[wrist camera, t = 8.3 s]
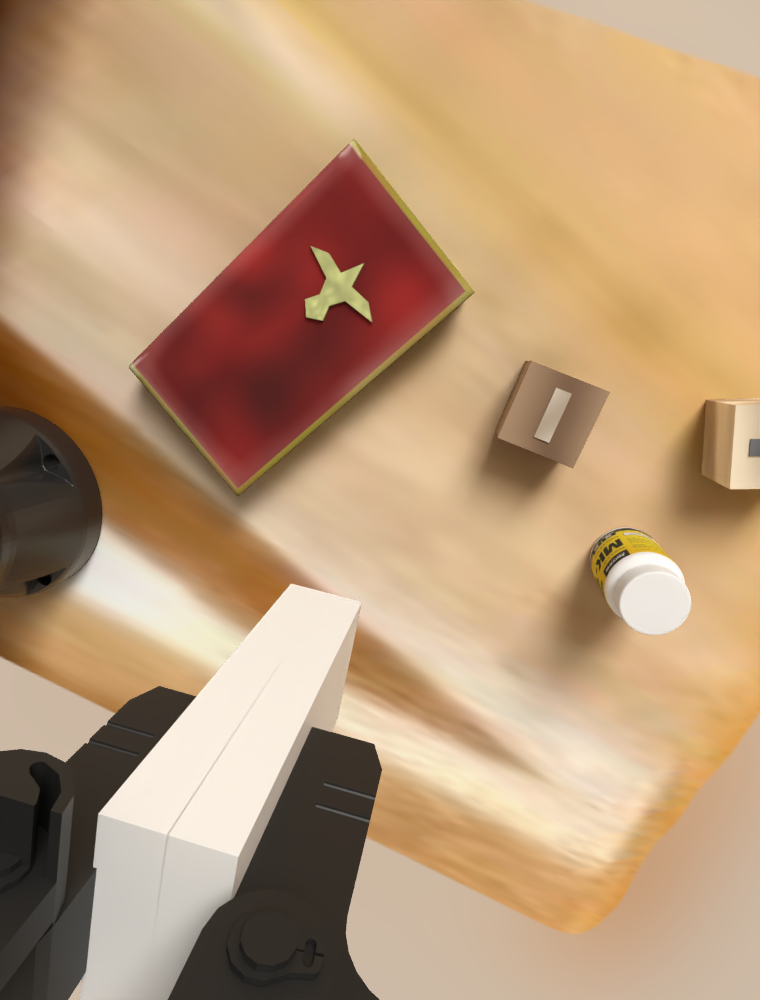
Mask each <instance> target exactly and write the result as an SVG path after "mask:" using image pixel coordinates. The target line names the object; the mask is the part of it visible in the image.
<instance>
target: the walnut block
mask: <svg viewBox="0 0 760 1000" xmlns="http://www.w3.org/2000/svg"><path fill="white" fill-rule="evenodd" d="M609 393H610V392H608V391H606V390H603V389H601V388H598V387H596V386H593V385H591V384H588V383H586V382H583V381H581V380H578V379H576V378H573V377H570V376H568V375H565V374H563V373H560V372H558V371H555V370H553V369H550V368H548V367H545V366H543V365H540V364H538V363H535V362H533V361H525V363H524V366H523V368H522V370H521V373H520V375H519V377H518V379H517V382H516V384H515V386H514V389H513V391H512V393H511V395H510V398H509V400H508V402H507V405H506V407H505V409H504V411H503V414H502V416H501V418H500V420H499V423H498V425H497V427H496V433H497V437H498V438H499V439H502V440H504V441H507V442H509V443H512V444H514V445H517V446H519V447H522V448H524V449H526V450H529V451H531V452H534V453H536V454H539V455H541V456H544V457H546V458H549V459H551V460H554V461H556V462H559V463H561V464H563V465H566V466H568V467H571V468H573V467H574V465H575V463H576V461H577V459H578V457H579V455H580V453H581V451H582V449H583V447H584V445H585V443H586V441H587V438H588V436H589V434H590V432H591V430H592V428H593V426H594V424H595V422H596V420H597V418H598V416H599V414H600V412H601V410H602V407H603V405H604V403H605V401H606V399H607V397H608V395H609Z"/></svg>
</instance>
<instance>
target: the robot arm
mask: <svg viewBox="0 0 760 1000" xmlns="http://www.w3.org/2000/svg"><path fill="white" fill-rule="evenodd" d="M101 522H102V506H101V498H100V493H99V488H98V485H97V481H96V479H95V476H94V473H93V471H92V469H91V467H90V465H89V463H88V461H87V460H86V458H85V456H84V455H83V453H82V452H81V450H80V449H79V448H78V446H77V445H76V444H75V443H74V442H73V441H72V439H71V438H70V437H69V436H68V435H67V434H66V433H65V432H63V431H62V430H61V429H60V428H59V427H57V426H56V425H55V424H53V423H52V422H50V421H48V420H47V419H45V418H43V417H41V416H39V415H37V414H35V413H32V412H29V411H26V410H23V409H19V408H13V407H0V598H9V597H19V596H27V595H31V594H36V593H39V592H42V591H44V590H47V589H49V588H51V587H53V586H55V585H57V584H58V583H60V582H62V581H64V580H66V579H68V578H69V577H71V576H72V575H74V574H75V573H76V572H77V571H79V570H80V569H81V568H82V567H83V565H84V564H85V563H86V562H87V560H88V559H89V558H90V556H91V554H92V553H93V551H94V548H95V546H96V544H97V541H98V538H99V534H100V529H101ZM361 604H362V602H360V601H357V600H353V599H349V598H345V597H341V596H337V595H333V594H329V593H325V592H321V591H318V590H314V589H310V588H306V587H302V586H298V585H294V584H290V586H289V587H288V588H287V589H286V590H285V592H284V593H283V594H282V595H281V596H280V598H279V599H278V600H277V601H276V602H275V604H274V605H273V606H272V607H271V608H270V609H269V611H268V612H267V613H266V614H265V615H264V617H263V618H262V619H261V620H260V621H259V623H258V624H257V625H256V626H255V627H254V629H253V630H252V631H251V632H250V633H249V635H248V636H247V637H246V638H245V639H244V640H243V642H242V643H241V644H240V645H239V646H238V648H237V649H236V650H235V651H234V652H233V654H232V655H231V656H230V657H229V658H228V660H227V661H226V662H225V663H224V664H223V666H222V667H221V668H220V669H219V670H218V672H217V673H216V674H215V675H214V676H213V677H212V679H211V680H210V681H209V682H208V683H207V685H206V686H205V687H204V688H203V689H202V691H201V692H200V693H199V694H198V695H197V697H196V696H193V695H189V694H185V693H182V692H178V691H175V690H171V689H168V688H164V687H161V686H159V687H157V688H154V689H152V690H150V691H148V692H146V693H144V694H142V695H139V696H137V697H135V698H133V699H131V700H129V701H128V702H127V703H126V704H125V705H124V706H123V707H122V708H121V709H120V710H119V711H118V712H117V713H116V714H115V715H114V716H113V717H112V718H111V719H110V720H109V721H108V723H107V725H106V726H105V725H104V726H103V727H101V728H100V729H99V730H98V731H97V732H96V733H95V734H94V735H93V736H92V737H91V738H90V741H89V743H88V744H86V743H85V744H84V745H83V746H82V747H81V748H80V749H79V750H78V751H77V752H76V753H75V754H74V755H73V756H72V757H71V758H70V759H69V760H68V761H67V762H66V763H65V762H63V761H61V760H59V759H57V758H55V757H53V756H51V755H49V754H47V753H44V752H37V751H30V750H23V749H18V750H9V751H0V1000H68V999H69V997H70V996H71V994H72V993H73V991H74V990H75V988H76V986H77V985H78V983H79V982H80V980H81V979H82V980H81V990H80V1000H379V999H378V998H377V997H376V996H375V995H374V994H373V993H372V992H371V991H370V990H369V989H368V988H367V986H366V985H365V983H364V982H363V980H362V979H361V977H360V976H359V975H358V973H357V972H356V969H355V967H354V965H353V962H352V960H351V957H350V955H349V952H348V945H347V940H346V923H347V915H348V910H349V906H350V902H351V898H352V894H353V889H354V885H355V881H356V877H357V873H358V868H359V864H360V860H361V856H362V852H363V847H364V843H365V839H366V835H367V831H368V826H369V822H370V818H371V814H372V810H373V805H374V801H375V797H376V793H377V789H378V784H379V780H380V776H381V772H382V768H381V765H380V762H379V759H378V755H377V752H376V749H375V746H374V744H372V743H368V742H365V741H361V740H358V739H354V738H351V737H347V736H344V735H340V734H336V733H333V732H332V731H333V728H334V726H335V723H336V720H337V718H338V713H339V708H340V704H341V699H342V694H343V689H344V685H345V680H346V675H347V670H348V666H349V661H350V656H351V651H352V647H353V642H354V637H355V632H356V628H357V623H358V618H359V613H360V609H361Z"/></svg>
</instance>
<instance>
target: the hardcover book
mask: <svg viewBox="0 0 760 1000" xmlns="http://www.w3.org/2000/svg"><path fill="white" fill-rule="evenodd" d="M473 293H474V291H473V290H472V288H471V287H470V286H469V284H468V283H467V282H466V281H465V279H464V278H463V277H462V276H461V274H460V273H459V272H458V270H457V269H456V268H455V267H454V265H453V264H452V263H451V262H450V260H449V259H448V258H447V256H446V255H445V254H444V253H443V251H442V250H441V249H440V248H439V246H438V245H437V244H436V242H435V241H434V240H433V239H432V237H431V236H430V235H429V233H428V232H427V231H426V230H425V228H424V227H423V226H422V225H421V223H420V222H419V221H418V219H417V218H416V217H415V216H414V214H413V213H412V212H411V211H410V209H409V208H408V207H407V205H406V204H405V203H404V202H403V200H402V199H401V198H400V197H399V195H398V194H397V193H396V191H395V190H394V189H393V188H392V186H391V185H390V184H389V183H388V181H387V180H386V179H385V177H384V176H383V175H382V174H381V172H380V171H379V170H378V168H377V167H376V166H375V165H374V163H373V162H372V161H371V160H370V158H369V157H368V156H367V154H366V153H365V152H364V151H363V149H362V148H361V147H360V146H359V144H358V143H357V142H356V140H355V139H353V140H352V141H351V142H350V143H349V144H348V145H347V146H346V147H345V148H344V149H343V150H342V151H341V152H340V153H339V154H338V155H337V156H336V157H335V158H334V159H333V160H332V161H331V162H330V163H329V164H328V165H327V166H326V167H325V168H324V169H323V170H322V171H321V172H320V173H319V174H318V176H317V177H316V178H315V179H314V180H313V181H312V182H311V183H310V184H309V185H308V186H307V187H306V188H305V189H304V190H303V191H302V192H301V193H300V194H299V195H298V196H297V197H296V198H295V199H294V200H293V201H292V202H291V203H290V204H289V205H288V206H287V207H286V208H285V209H284V210H283V211H282V212H281V213H280V214H279V215H278V216H277V217H276V218H275V219H274V220H273V221H272V222H271V223H270V224H269V225H268V226H267V227H266V228H265V229H264V230H263V231H262V232H261V233H260V234H259V235H258V236H257V237H256V238H255V239H254V240H253V241H252V242H251V243H250V244H249V245H248V246H247V247H246V248H245V249H244V250H243V251H242V252H241V253H240V254H239V255H238V256H237V257H236V258H235V259H234V260H233V261H232V262H231V263H230V264H229V265H228V266H227V267H226V268H225V269H224V270H223V271H222V272H221V273H220V274H219V275H218V276H217V277H216V278H215V279H214V281H213V282H212V283H211V284H210V285H209V286H208V287H207V288H206V289H205V290H204V291H203V292H202V293H201V294H200V295H199V296H198V297H197V298H196V299H195V300H194V301H193V302H192V303H191V304H190V305H189V306H188V307H187V308H186V309H185V310H184V311H183V312H182V313H181V314H180V315H179V316H178V317H177V318H176V319H175V320H174V321H173V322H172V323H171V324H170V325H169V326H168V327H167V328H166V329H165V330H164V331H163V332H162V333H161V334H160V335H159V336H158V337H157V338H156V339H155V340H154V341H153V342H152V343H151V344H150V345H149V346H148V347H147V348H146V349H145V350H144V351H143V352H142V353H141V354H140V355H139V356H138V357H137V358H136V359H135V360H134V361H133V362H132V363H131V364H130V366H129V368H130V370H131V371H132V372H133V373H134V374H135V375H136V377H137V378H138V379H139V380H140V381H141V383H142V384H143V385H144V386H145V387H146V388H147V390H148V391H149V392H150V393H151V394H152V396H153V397H154V398H155V399H156V400H157V401H158V403H159V404H160V405H161V406H162V407H163V409H164V410H165V411H166V412H167V413H168V415H169V416H170V417H171V418H172V419H173V420H174V422H175V423H176V424H177V425H178V426H179V428H180V429H181V430H182V431H183V432H184V433H185V435H186V436H187V437H188V438H189V439H190V441H191V442H192V443H193V444H194V445H195V446H196V448H197V449H198V450H199V451H200V452H201V454H202V455H203V456H204V457H205V458H206V459H207V461H208V462H209V463H210V464H211V465H212V467H213V468H214V469H215V470H216V471H217V472H218V474H219V475H220V476H221V477H222V478H223V480H224V481H225V482H226V483H227V484H228V485H229V487H230V488H231V489H232V490H233V491H234V493H235V494H236V495H237V496H239V495H240V494H241V493H243V492H244V491H245V490H246V489H247V488H248V487H250V486H251V485H252V484H253V483H254V482H255V481H257V480H258V479H259V478H260V477H261V476H262V475H263V474H265V473H266V472H267V471H268V470H269V469H270V468H272V467H273V466H274V465H275V464H276V463H277V462H279V461H280V460H281V459H282V458H283V457H284V456H285V455H287V454H288V453H289V452H290V451H291V450H292V449H294V448H295V447H296V446H297V445H298V444H299V443H301V442H302V441H303V440H304V439H305V438H306V437H308V436H309V435H310V434H311V433H312V432H313V431H314V430H316V429H317V428H318V427H319V426H320V425H321V424H323V423H324V422H325V421H326V420H327V419H328V418H330V417H331V416H332V415H333V414H334V413H335V412H337V411H338V410H339V409H340V408H341V407H342V406H343V405H345V404H346V403H347V402H348V401H349V400H350V399H352V398H353V397H354V396H355V395H356V394H357V393H359V392H360V391H361V390H362V389H363V388H364V387H365V386H367V385H368V384H369V383H370V382H371V381H372V380H374V379H375V378H376V377H377V376H378V375H379V374H381V373H382V372H383V371H384V370H385V369H386V368H388V367H389V366H390V365H391V364H392V363H393V362H394V361H396V360H397V359H398V358H399V357H400V356H401V355H403V354H404V353H405V352H406V351H407V350H408V349H410V348H411V347H412V346H413V345H414V344H415V343H416V342H418V341H419V340H420V339H421V338H422V337H423V336H425V335H426V334H427V333H428V332H429V331H430V330H432V329H433V328H434V327H435V326H436V325H437V324H439V323H440V322H441V321H442V320H443V319H444V318H445V317H447V316H448V315H449V314H450V313H451V312H452V311H454V310H455V309H456V308H457V307H458V306H459V305H461V304H462V303H463V302H464V301H465V300H466V299H467V298H469V297H470V296H471V295H472V294H473Z"/></svg>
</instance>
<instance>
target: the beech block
mask: <svg viewBox="0 0 760 1000" xmlns="http://www.w3.org/2000/svg"><path fill="white" fill-rule="evenodd" d="M701 475H703V476H705V477H707V478H709V479H711V480H713V481H715V482H717V483H719V484H720V485H722V486H724V487H726V488H728V489H760V398H739V399H715V400H706V409H705V425H704V441H703V457H702V473H701Z"/></svg>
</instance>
